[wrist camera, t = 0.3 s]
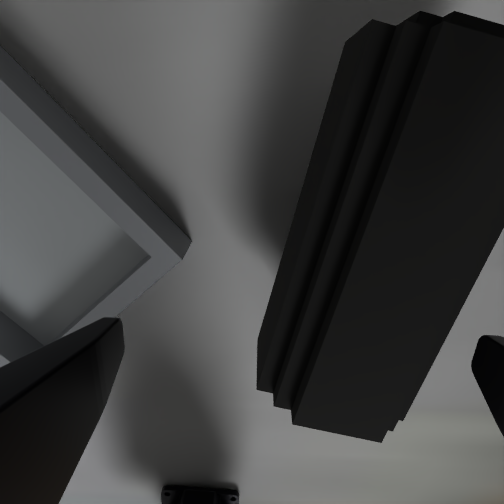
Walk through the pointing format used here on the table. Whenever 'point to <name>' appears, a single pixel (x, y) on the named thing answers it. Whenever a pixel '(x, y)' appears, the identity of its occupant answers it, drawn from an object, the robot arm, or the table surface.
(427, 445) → the table surface
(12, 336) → the case
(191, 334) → the table surface
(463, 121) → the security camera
